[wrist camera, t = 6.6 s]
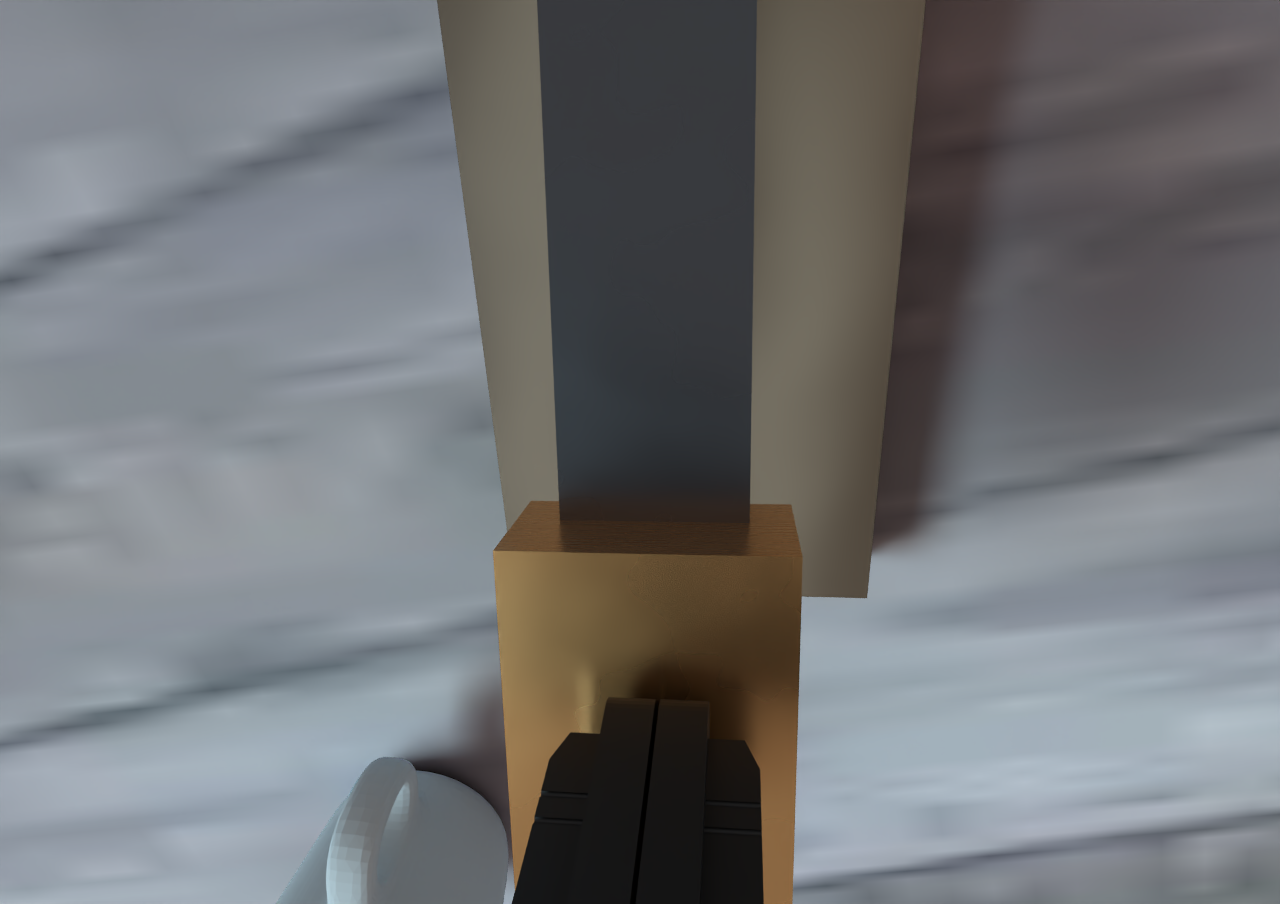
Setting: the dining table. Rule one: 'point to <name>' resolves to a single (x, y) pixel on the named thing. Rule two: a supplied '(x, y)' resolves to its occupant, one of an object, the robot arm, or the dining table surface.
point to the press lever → (651, 411)
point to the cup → (405, 844)
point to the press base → (782, 264)
